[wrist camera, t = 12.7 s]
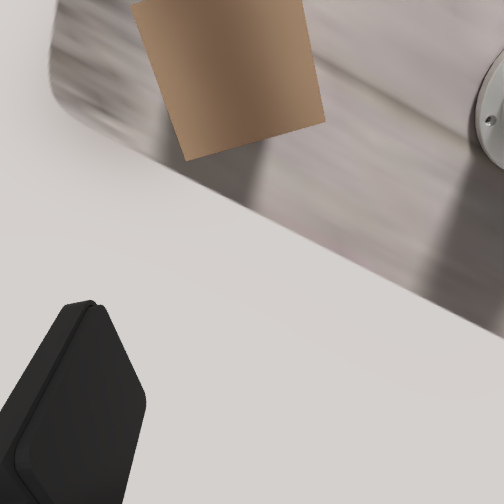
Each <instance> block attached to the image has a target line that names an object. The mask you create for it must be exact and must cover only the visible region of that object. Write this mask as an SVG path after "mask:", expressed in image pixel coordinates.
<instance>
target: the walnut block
mask: <svg viewBox="0 0 504 504" xmlns="http://www.w3.org/2000/svg"><path fill="white" fill-rule="evenodd" d="M130 7H131V10H132V13H133V16H134V19H135V21H136V24H137V27H138V30H139V32H140V35H141V38H142V41H143V44H144V46H145V49H146V52H147V55H148V57H149V60H150V63H151V66H152V69H153V71H154V74H155V77H156V80H157V82H158V85H159V88H160V91H161V94H162V96H163V99H164V102H165V105H166V107H167V110H168V113H169V116H170V119H171V121H172V124H173V127H174V130H175V133H176V135H177V138H178V141H179V144H180V146H181V149H182V152H183V155H184V158H185V160H186V161H189V160H193V159H196V158H200V157H203V156H207V155H210V154H214V153H217V152H221V151H225V150H228V149H232V148H235V147H239V146H242V145H246V144H249V143H253V142H256V141H260V140H263V139H267V138H271V137H274V136H278V135H281V134H285V133H288V132H292V131H295V130H299V129H302V128H306V127H309V126H313V125H316V124H320V123H324V122H326V121H325V116H324V111H323V106H322V101H321V96H320V91H319V86H318V80H317V75H316V70H315V65H314V60H313V55H312V50H311V45H310V40H309V35H308V30H307V25H306V20H305V14H304V9H303V4H302V0H146V1H143V2H140V3H136V4H133V5H130Z"/></svg>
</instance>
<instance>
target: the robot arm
mask: <svg viewBox="0 0 504 504" xmlns="http://www.w3.org/2000/svg"><path fill="white" fill-rule="evenodd" d="M487 117H488V119H487ZM486 119H487V121H485V120H486ZM475 126H476V131H477V136H478V140H479V142H480V144H481V146H482V149H483V151H484V152H485V153H486V155H487V156H488V157H489V158H490V160H491V161H492V162H494V163H495V164H496V165H498V166H499V167H500V168H502V169H503V170H504V50H503V51H502V52H501V54H500V55H499V56H498V58H497V59H496V60H495V61H494V63H493V65H492V66H491V68H490V70H489V72H488V73H487V75H486V77H485V79H484V82H483V84H482V87H481V89H480V92H479V95H478V100H477V105H476V114H475ZM145 410H146V396H145V392H144V390H143V388H142V386H141V383H140V381H139V379H138V377H137V375H136V373H135V371H134V368H133V366H132V364H131V362H130V360H129V358H128V355H127V354H126V351H125V350H124V347H123V345H122V343H121V341H120V338H119V336H118V334H117V332H116V330H115V327H114V325H113V323H112V321H111V319H110V317H109V314H108V312H107V310H106V309H105V307H104V306H103V305H97V304H96V303H95V302H94V301H92V300H88V301H83V302H77V303H73V304H67V305H65V306H64V307H63V308H62V309H61V311H60V313H59V314H58V316H57V318H56V320H55V321H54V323H53V325H52V326H51V328H50V330H49V331H48V333H47V335H46V336H45V338H44V339H43V341H42V343H41V344H40V346H39V348H38V350H37V351H36V353H35V355H34V356H33V358H32V359H31V361H30V363H29V365H28V366H27V368H26V369H25V371H24V373H23V374H22V376H21V378H20V379H19V381H18V383H17V384H16V386H15V388H14V390H13V391H12V393H11V394H10V396H9V398H8V399H7V401H6V403H5V405H4V406H3V408H2V409H1V411H0V504H122V502H123V498H124V494H125V490H126V486H127V482H128V478H129V474H130V470H131V466H132V462H133V457H134V454H135V450H136V446H137V442H138V438H139V433H140V429H141V426H142V422H143V418H144V414H145Z"/></svg>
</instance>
